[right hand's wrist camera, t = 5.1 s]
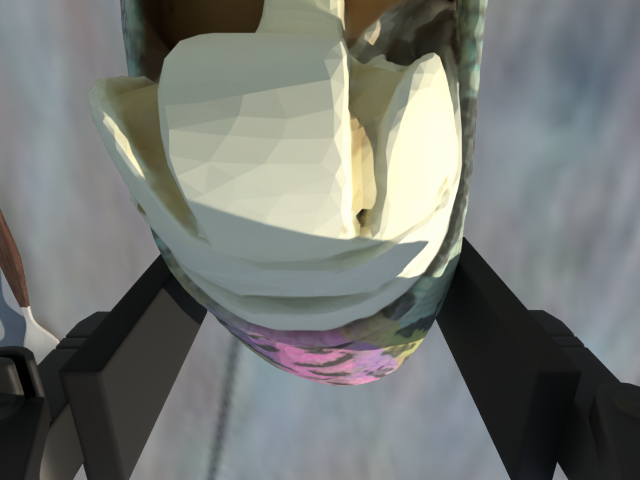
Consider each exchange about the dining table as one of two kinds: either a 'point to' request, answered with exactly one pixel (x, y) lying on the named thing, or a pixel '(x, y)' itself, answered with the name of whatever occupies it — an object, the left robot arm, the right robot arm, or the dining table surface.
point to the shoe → (302, 166)
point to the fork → (23, 295)
